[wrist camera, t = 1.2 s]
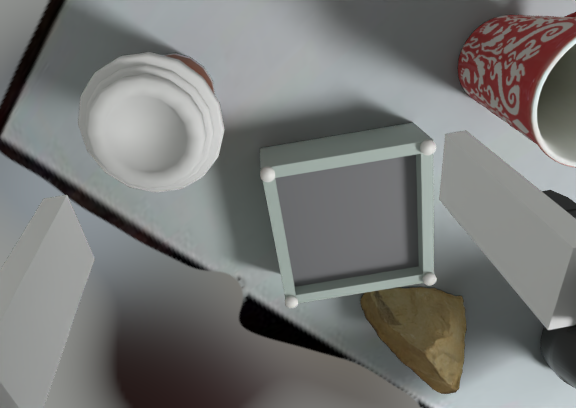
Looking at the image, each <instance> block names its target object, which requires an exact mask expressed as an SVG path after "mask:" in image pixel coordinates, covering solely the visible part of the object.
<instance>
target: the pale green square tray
mask: <svg viewBox="0 0 576 408" xmlns="http://www.w3.org/2000/svg"><path fill="white" fill-rule="evenodd" d="M435 150H436V144H435V143H434V142H433V139H432V138H430V137H429V136H428V135H427V134H426V133H425V132H424V131H422V130H421V129H420V128H419V127H418V126H417V125H415V124H414V123H408V124H402V125H396V126H390V127H384V128H378V129H372V130H366V131H360V132H354V133H348V134H342V135H336V136H330V137H324V138H318V139H312V140H306V141H300V142H294V143H288V144H283V145H277V146H271V147H265V148H260V169H261V171H260V177H261V179H262V180H263V185H264V190H265V195H266V200H267V206H268V211H269V216H270V221H271V226H272V231H273V237H274V242H275V247H276V252H277V257H278V262H279V268H280V273H281V278H282V283H283V288H284V293H285V305H286V307H288V308H295V307H296V306H297V305H298V304H299V303H305V302H311V301H317V300H323V299H329V298H335V297H342V296H348V295H354V294H360V293H366V292H372V291H378V290H384V289H390V288H396V287H402V286H408V285H414V284H420V283H425V285H428V286H430V285H433V284H434V283H435V282H436V280H437V278H436V276H435V275H434V195H433V153H434V152H435Z"/></svg>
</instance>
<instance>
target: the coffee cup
mask: <svg viewBox="0 0 576 408" xmlns="http://www.w3.org/2000/svg"><path fill="white" fill-rule="evenodd" d="M78 125H79V128H80V131H81V134H82V137H83V140H84V143H85V146H86V149H87V151H88V152H89V154H90V155H91V156H92V157H93V158H94V160H95V161H96V162H97V163H98V164H99V166H100V167H101V168H102V169H103V170H104V172H105V173H107V174H108V175H110V176H112V177H113V178H115V179H117V180H118V181H120V182H122V183H123V184H125V185H127V186H128V187H132V188H136V189H141V190H146V191H150V192H155V193H156V192H163V191H171V190H178V189H183V188H184V187H186V186H188V185H190V184H191V183H193V182H195V181H197V180H198V179H200V178H202V177H204V175H205V174H206V173H207V171H208V170H209V169H210V167H211V166H212V165H213V163H214V162H215V161H216V159H217V158H218V157H219V152H220V148H221V143H222V139H223V134H224V130H225V128H224V123H223V117H222V112H221V107H220V102H219V101H218V99H217V97H216V96H215V91H214V85H213V80H212V79H211V77H210V76H209V74H208V73H207V71H206V69H205V68H204V67H203V66H202V65H200V64H199V63H198V62H196V61H195V60H194V59H192V58H191V57H187V56H184V55H180V54H176V53H174V54H166V55H160V54H156V53H152V52H146V53H138V54H131V55H124V56H120V57H118V58H116V59H115V60H113V61H112V62H110V63H109V64H107V65H106V66H104V67H102V68H101V69H99V70H98V71H96V72H95V73H94V74H93V76H92V78H91V79H90V81H89V83H88V84H87V86H86V88H85V89H84V91H83V93H82V94H81V96H80V107H79V119H78Z"/></svg>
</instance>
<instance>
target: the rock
mask: <svg viewBox="0 0 576 408" xmlns="http://www.w3.org/2000/svg"><path fill="white" fill-rule="evenodd" d="M463 302H464V300H463V298H462V296H454V295H451V294H448V293H445V292H443V291H441V290H437V289H436V288H423V287H418V288H408V289H407V288H403V289H402V288H393V289H384V290H378V291H372V292H366V293H364V295H363V296H362V298H361V300H360V303H361V307H362V310H363V311H364V314H365V317H366V319H367V320H368V321H369V323H370V324H371V325H372V327H373V328H374V329H375V331H376V332H377V335H378V336H379V338H380V339H381V340H382V341H383V342H384V343H385V344H386V345H387V346H388V347H389V348H390V350H391V351H392V352H393V353H394V354H395V355H396V356H397V357H398V358H399V360H400V361H401V362H402V363H403V364H405V365H406V366H408V367H410V368H411V369H412V370H413V371H414V372H415V373H416V374H417V375H418V376H419V377H420V378H421V379H422V380H423V381H424V382H426V383H427V384H428V385H429V386H430V387H431V388H432V389H434V390H435V391H437V392H439V393H441V394H449V393H454V392H456V391H457V390H458V389H459V385H460V378H461V374H462V367H463V363H464V348H465V343H464V339H465V333H466V318H465V307H464V306H463Z"/></svg>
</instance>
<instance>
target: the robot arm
mask: <svg viewBox="0 0 576 408" xmlns="http://www.w3.org/2000/svg"><path fill="white" fill-rule="evenodd" d="M439 200H440V201H441V202H442V204H443V205H444V206H445V207H446V208H447V210H448V211H449V212H450V213H451V214H452V216H453V217H454V218H455V219H456V220H457V222H458V223H459V224H460V225H461V226H462V228H463V229H464V230H465V231H466V232H467V234H468V235H469V236H470V237H471V238H472V240H473V241H474V242H475V243H476V244H477V246H478V247H479V248H480V249H481V250H482V252H483V253H484V254H485V255H486V256H487V258H488V259H489V260H490V261H491V262H492V264H493V265H494V266H495V267H496V268H497V270H498V271H499V272H500V273H501V274H502V276H503V277H504V278H505V279H506V280H507V282H508V283H509V284H510V285H511V287H512V288H513V289H514V290H515V291H516V293H517V294H518V295H519V296H520V297H521V299H522V300H523V301H524V302H525V303H526V305H527V306H528V307H529V308H530V309H531V311H532V312H533V313H534V314H535V315H536V317H537V318H538V319H539V320H540V321H541V323H542V324H543V325H544V326H545V328H544V330H543V333H542V337H541V351H542V355H543V357H544V359H545V360H546V362H547V363H548V364H549V366H550V367H551V368H552V370H553V371H554V372H555V373H556V375H557V376H558V377H559V378H560V379H561V380H563V381H564V382H566V383H567V384H569V385H571V386H572V387H574V388H576V203H575V202H573V201H572V200H571V199H569V198H568V197H566V196H563V195H561V194H559V193H556V192H554V191H552V190H547V191H541V190H539V189H538V188H537V187H536V186H534V185H533V184H532V183H531V182H529V181H528V180H527V179H526V178H524V177H523V176H522V175H521V174H519V173H518V172H517V171H516V170H514V169H513V168H512V167H511V166H510V165H508V164H507V163H506V162H505V161H503V160H502V159H501V158H500V157H498V156H497V155H496V154H495V153H493V152H492V151H491V150H490V149H488V148H487V147H486V146H485V145H483V144H482V143H481V142H480V141H479V140H477V139H476V138H475V137H474V136H472V135H471V134H470V133H469V132H467V131H460V132H454V133H447V134H445V143H444V153H443V164H442V175H441V185H440V196H439ZM94 260H95V258H94V255H93V253H92V251H91V248H90V246H89V244H88V242H87V239H86V237H85V235H84V232H83V230H82V228H81V225H80V223H79V221H78V219H77V216H76V214H75V212H74V210H73V207H72V205H71V203H70V200H69V198H68V196H67V195H63V196H57V197H50V198H44V199H43V200H42V202H41V204H40V205H39V207H38V209H37V210H36V212H35V214H34V215H33V217H32V219H31V220H30V222H29V224H28V225H27V227H26V228H25V230H24V232H23V233H22V235H21V237H20V238H19V240H18V242H17V243H16V245H15V247H14V248H13V250H12V252H11V253H10V255H9V256H8V258H7V260H6V262H5V263H4V265H3V267H2V268H1V270H0V408H43V407H44V404H45V402H46V399H47V396H48V393H49V390H50V387H51V384H52V381H53V378H54V376H55V373H56V369H57V367H58V364H59V361H60V358H61V355H62V352H63V349H64V346H65V344H66V341H67V338H68V335H69V332H70V329H71V326H72V323H73V320H74V317H75V315H76V312H77V309H78V306H79V303H80V300H81V297H82V294H83V291H84V289H85V286H86V283H87V280H88V277H89V274H90V271H91V268H92V266H93V263H94Z"/></svg>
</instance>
